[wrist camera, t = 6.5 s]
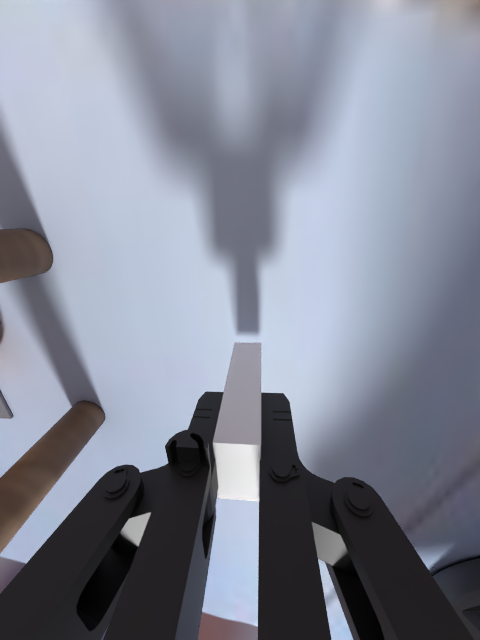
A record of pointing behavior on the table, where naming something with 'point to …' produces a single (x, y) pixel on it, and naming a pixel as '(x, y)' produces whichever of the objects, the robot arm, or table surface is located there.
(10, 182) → the table surface
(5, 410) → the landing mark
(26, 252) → the post
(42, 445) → the post
